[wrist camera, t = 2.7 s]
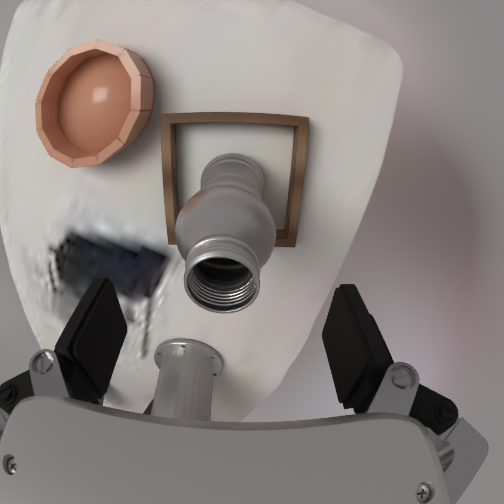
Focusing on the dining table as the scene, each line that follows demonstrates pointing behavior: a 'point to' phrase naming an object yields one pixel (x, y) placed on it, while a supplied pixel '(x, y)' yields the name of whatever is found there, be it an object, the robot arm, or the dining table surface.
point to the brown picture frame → (300, 123)
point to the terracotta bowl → (93, 103)
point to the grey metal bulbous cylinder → (226, 235)
